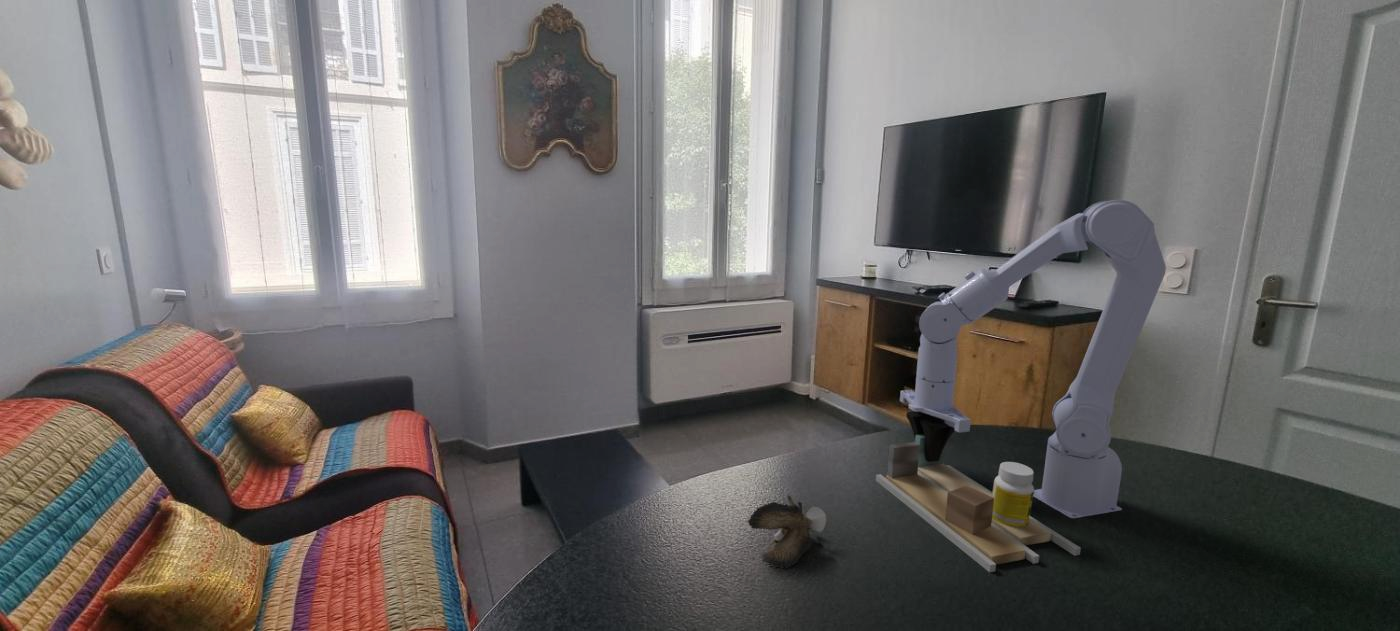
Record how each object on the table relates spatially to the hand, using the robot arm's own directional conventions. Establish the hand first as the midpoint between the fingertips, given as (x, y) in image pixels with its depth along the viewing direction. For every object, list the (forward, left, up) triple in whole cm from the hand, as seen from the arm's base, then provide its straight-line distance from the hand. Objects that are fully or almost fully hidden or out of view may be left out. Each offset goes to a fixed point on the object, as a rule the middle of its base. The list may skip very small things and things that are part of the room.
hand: (928, 457), depth 93 cm
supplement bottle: (0, +17, -2) cm, 17 cm away
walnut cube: (+6, +17, -1) cm, 18 cm away
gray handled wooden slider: (+6, +13, -2) cm, 14 cm away
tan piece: (0, +10, -2) cm, 11 cm away
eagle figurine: (+31, +13, -3) cm, 34 cm away
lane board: (+3, +13, -3) cm, 13 cm away
